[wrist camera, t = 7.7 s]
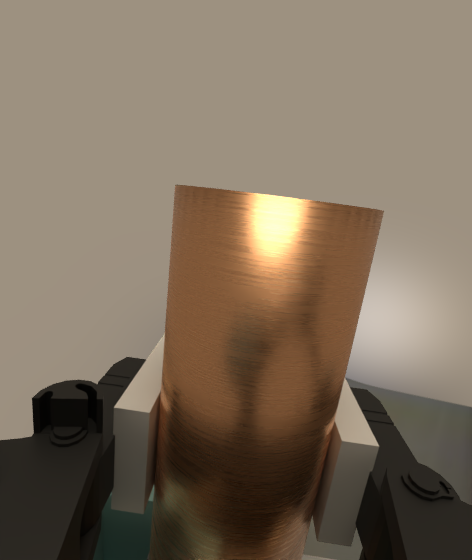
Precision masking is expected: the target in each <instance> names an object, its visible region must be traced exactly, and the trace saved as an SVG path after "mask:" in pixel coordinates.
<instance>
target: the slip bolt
mask: <svg viewBox="0 0 472 560" xmlns="http://www.w3.org/2000/svg"><path fill="white" fill-rule="evenodd" d="M383 213H384V211H382V210H376V209H370V208H363V207H355V206H349V205H342V204H334V203H326V202H320V201H311V200H304V199H296V198H288V197H281V196H272V195H264V194H255V193H248V192H239V191H231V190H222V189H214V188H204V187H195V186H185V185H175V197H174V210H173V225H172V240H171V254H170V268H169V282H168V296H167V310H166V325H165V339H164V353H163V367H162V381H161V396H160V410H159V424H158V438H157V453H156V467H155V481H154V495H153V510H152V524H151V538H150V551H149V554H148V557H147V560H335V559H328V558H322V557H316V556H309V555H303V551H304V547H305V543H306V539H307V535H308V530H309V526H310V522H311V518H312V513H313V509H314V505H315V501H316V496H317V492H318V488H319V484H320V480H321V475H322V471H323V467H324V463H325V458H326V454H327V450H328V446H329V442H330V437H331V433H332V429H333V425H334V420H335V416H336V412H337V408H338V403H339V399H340V395H341V391H342V387H343V382H344V378H345V374H346V370H347V365H348V361H349V357H350V353H351V349H352V344H353V340H354V336H355V332H356V327H357V323H358V319H359V315H360V310H361V306H362V302H363V298H364V294H365V289H366V285H367V281H368V276H369V272H370V268H371V264H372V260H373V255H374V251H375V247H376V243H377V239H378V234H379V230H380V226H381V221H382V217H383Z"/></svg>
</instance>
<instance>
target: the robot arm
mask: <svg viewBox="0 0 472 560" xmlns="http://www.w3.org/2000/svg"><path fill="white" fill-rule="evenodd" d="M164 339H165V333H164V335H163V336H162V338H161V339H160V341H159V342H158V344H157V345H156V347H155V348H154V350H153V351H152V352H151V354H150V356H149V357H148V358H147V360H145V359H138V358H131V357H126V358H125V359H123V360H121V361H119V362H117V363H115V364H114V365H113V366H112V367H111V368H110V369H109V370H108V372H107V373H106V374H105V376H103V377H102V379H101V380H100V381H99V382H98V384H95V383H93V382H91V381H84V380H70V381H64V382H60V383H56V384H53V385H51V386H49V387H47V388H45V389H43V390H41V391H40V392H38V393H37V394H36V395H35V396H34V397H33V398H32V405H33V425H34V434H33V435H32V437H26V438H20V439H10V440H0V560H93V557H94V554H95V550H96V546H97V542H98V538H99V535H100V531H101V520H102V510H103V508H104V506H105V504H106V502H107V500H108V498H109V496H110V494H111V492H112V496H111V509H114V510H120V511H127V512H133V513H140V514H144V511H145V508H146V506H147V503H148V500H149V497H150V494H151V492H152V489H153V486H154V481H155V467H156V453H157V438H158V424H159V410H160V396H161V381H162V367H163V353H164ZM312 515H313V521H314V526H315V532H316V538H317V541H319V542H325V543H332V544H338V545H344V546H351V544H352V540H353V537H354V533H355V530H356V527H357V530H358V534H359V537H360V540H361V543H362V547H363V549H362V552H361V555H360V559H359V560H472V505H469V504H467V503H465V502H463V501H461V500H460V498H459V496H458V494H457V493H456V492H455V490H454V489H453V487H452V486H451V485H450V484H449V483H448V482H447V481H446V480H445V479H444V478H443V477H442V476H441V475H440V474H438V473H437V472H435V471H433V470H432V469H430V468H429V467H427V466H425V465H422V464H420V463H418V462H417V460H416V459H415V457H414V456H413V454H412V452H411V451H410V449H409V447H408V446H407V444H406V443H405V441H404V439H403V438H402V436H401V435H400V433H399V431H398V430H397V428H396V426H394V423H393V422H392V420H391V418H390V417H389V416H388V415H387V412H386V410H385V409H384V407H383V405H382V404H381V402H380V401H379V400H378V399H377V398H376V397H375V396H373V395H372V394H371V393H370V392H369V391H368V390H365V389H358V388H351V387H349V385H348V383H347V381H346V379H345V378H344V382H343V387H342V391H341V395H340V399H339V403H338V408H337V412H336V416H335V420H334V425H333V429H332V433H331V437H330V442H329V446H328V450H327V454H326V458H325V463H324V467H323V471H322V475H321V480H320V484H319V488H318V492H317V496H316V501H315V505H314V509H313V513H312Z"/></svg>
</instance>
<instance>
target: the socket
mask: <svg viewBox="0 0 472 560" xmlns="http://www.w3.org/2000/svg"><path fill="white" fill-rule="evenodd" d="M153 495H154V486H153V489H152V492H151V494H150V497H149V500H148V503H147V506H146V508H145V511H144V514H140V513H133V512H127V511H120V510H114V509H111V496H112V492H111V494H110V496H109V498H108V500H107V502H106V504H105V506H104V508H103V510H102V520H101V531H100V535H99V538H98V542H97V546H96V550H95V554H94V557H93V560H147V557H148V554H149V551H150V538H151V524H152V510H153Z"/></svg>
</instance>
